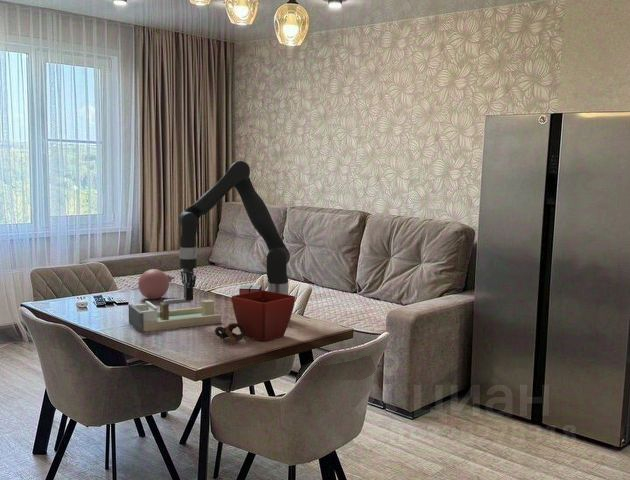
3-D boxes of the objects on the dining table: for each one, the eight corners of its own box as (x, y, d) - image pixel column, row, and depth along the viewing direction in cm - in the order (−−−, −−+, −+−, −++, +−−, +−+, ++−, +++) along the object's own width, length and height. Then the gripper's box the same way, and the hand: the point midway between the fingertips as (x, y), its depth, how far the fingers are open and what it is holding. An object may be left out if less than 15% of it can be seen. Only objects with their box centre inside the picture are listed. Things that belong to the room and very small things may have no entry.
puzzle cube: (259, 309, 308) (259, 289, 307) (239, 308, 308) (239, 288, 307) (261, 304, 318) (261, 285, 317) (241, 304, 318) (242, 284, 317)
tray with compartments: (221, 322, 281) (221, 302, 279) (139, 332, 262) (139, 310, 261) (206, 313, 296) (206, 294, 295) (128, 322, 278) (128, 301, 276)
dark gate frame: (193, 317, 281) (193, 281, 279) (163, 320, 274) (163, 284, 272) (190, 315, 285) (189, 280, 283) (159, 318, 278) (159, 282, 276)
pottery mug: (241, 338, 258) (247, 323, 254) (240, 354, 251) (246, 339, 246) (213, 331, 256) (218, 316, 252) (210, 347, 248) (216, 332, 244)
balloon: (182, 298, 329) (182, 269, 327) (147, 303, 315) (147, 272, 313) (167, 293, 340) (167, 265, 338) (133, 298, 326) (132, 268, 325)
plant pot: (262, 327, 274) (263, 289, 272) (295, 336, 262) (296, 296, 260) (229, 336, 259) (230, 296, 257) (263, 345, 247) (264, 303, 245)
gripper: (202, 258, 275) (202, 297, 277) (190, 254, 287) (191, 291, 289) (185, 259, 271) (185, 299, 273) (174, 255, 283) (175, 293, 285)
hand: (188, 295), depth 281 cm, fingers closed on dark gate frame, 3 cm apart
